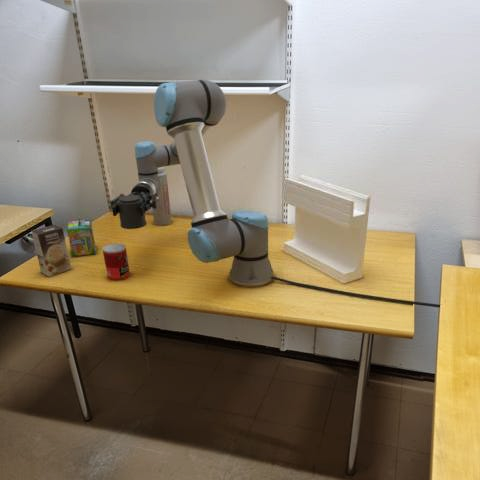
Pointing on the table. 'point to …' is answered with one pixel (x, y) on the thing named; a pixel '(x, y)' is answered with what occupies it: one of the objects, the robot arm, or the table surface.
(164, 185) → the thermos bottle
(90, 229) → the chalk box
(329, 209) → the block
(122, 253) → the canned food
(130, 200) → the cap
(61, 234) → the coffee box
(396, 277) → the table surface
